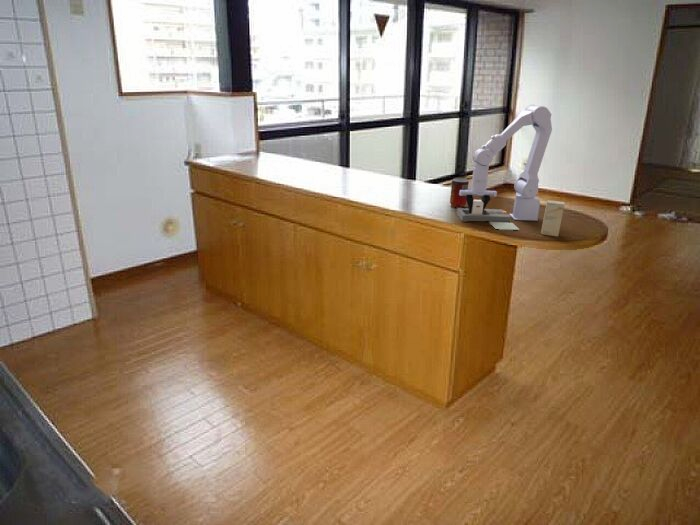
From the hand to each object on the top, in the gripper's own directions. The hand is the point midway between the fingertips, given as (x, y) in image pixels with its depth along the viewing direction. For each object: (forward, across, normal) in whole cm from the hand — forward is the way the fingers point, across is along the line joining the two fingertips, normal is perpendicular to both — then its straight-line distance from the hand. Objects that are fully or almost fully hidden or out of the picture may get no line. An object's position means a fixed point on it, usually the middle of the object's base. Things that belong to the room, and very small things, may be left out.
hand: (475, 213), depth 206 cm
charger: (+2, 0, 0) cm, 2 cm away
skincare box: (+2, +24, -19) cm, 30 cm away
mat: (+2, +8, -12) cm, 14 cm away
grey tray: (+2, +3, 0) cm, 4 cm away
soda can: (+2, -4, +18) cm, 18 cm away
